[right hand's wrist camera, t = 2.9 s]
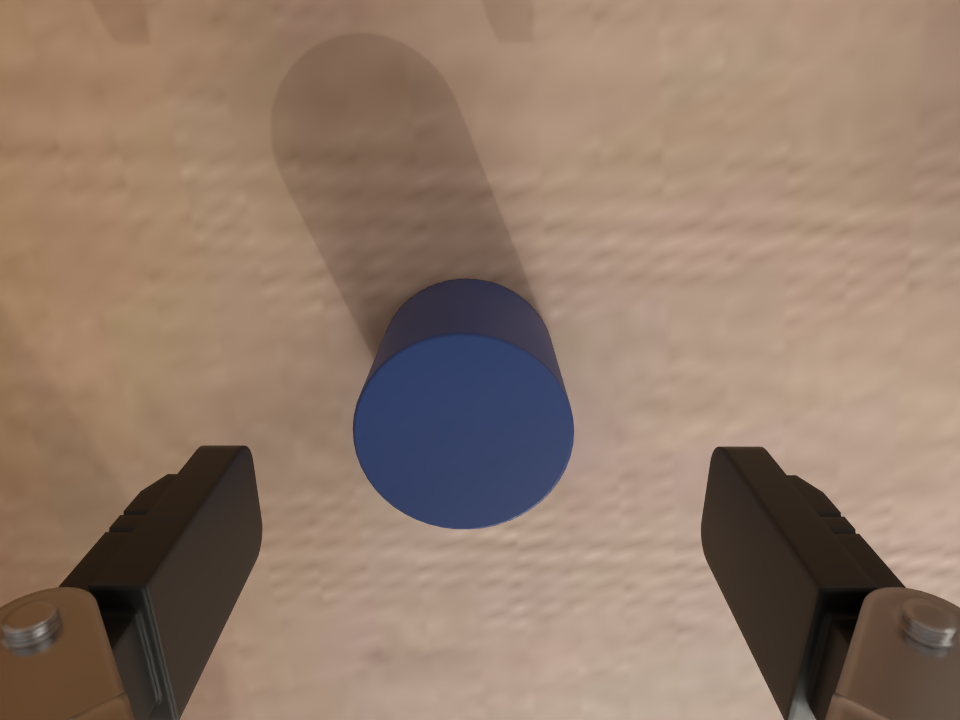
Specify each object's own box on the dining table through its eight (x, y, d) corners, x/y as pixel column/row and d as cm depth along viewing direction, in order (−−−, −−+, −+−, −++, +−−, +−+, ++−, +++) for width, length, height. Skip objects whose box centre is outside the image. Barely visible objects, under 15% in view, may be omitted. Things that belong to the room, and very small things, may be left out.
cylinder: (517, 458, 18) (527, 554, 15) (361, 408, 18) (327, 495, 14) (579, 312, 17) (609, 375, 13) (411, 253, 16) (388, 301, 12)
